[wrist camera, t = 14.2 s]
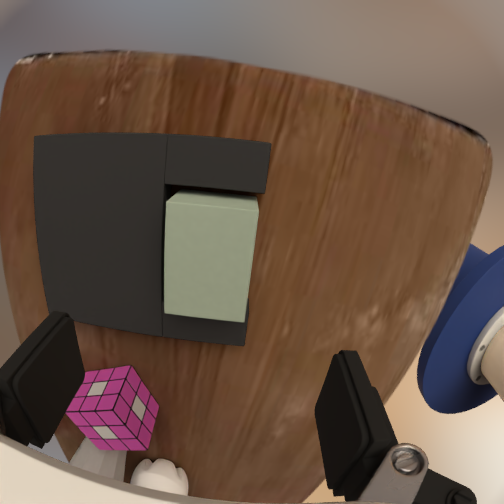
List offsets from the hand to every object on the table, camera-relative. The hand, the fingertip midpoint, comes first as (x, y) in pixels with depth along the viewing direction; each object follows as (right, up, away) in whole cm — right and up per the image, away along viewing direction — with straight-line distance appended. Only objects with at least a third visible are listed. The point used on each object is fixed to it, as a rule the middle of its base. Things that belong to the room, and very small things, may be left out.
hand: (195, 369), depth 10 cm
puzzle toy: (-11, -9, +17) cm, 22 cm away
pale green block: (-1, +5, +11) cm, 12 cm away
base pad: (-6, +5, +11) cm, 14 cm away
